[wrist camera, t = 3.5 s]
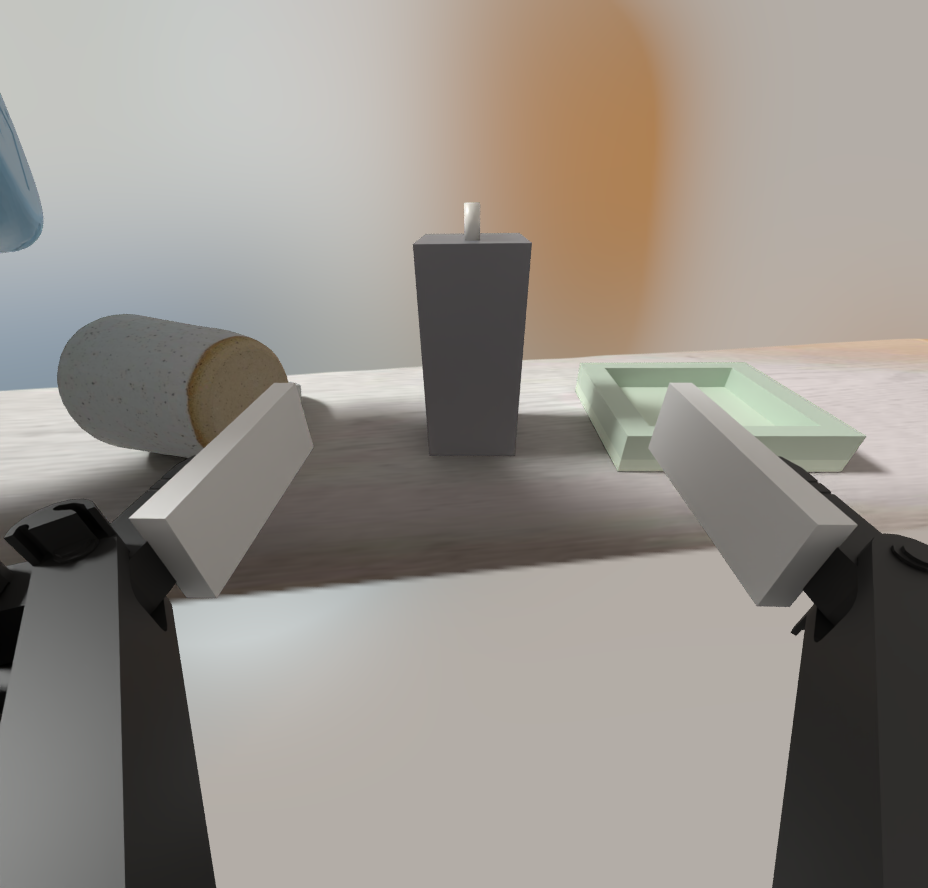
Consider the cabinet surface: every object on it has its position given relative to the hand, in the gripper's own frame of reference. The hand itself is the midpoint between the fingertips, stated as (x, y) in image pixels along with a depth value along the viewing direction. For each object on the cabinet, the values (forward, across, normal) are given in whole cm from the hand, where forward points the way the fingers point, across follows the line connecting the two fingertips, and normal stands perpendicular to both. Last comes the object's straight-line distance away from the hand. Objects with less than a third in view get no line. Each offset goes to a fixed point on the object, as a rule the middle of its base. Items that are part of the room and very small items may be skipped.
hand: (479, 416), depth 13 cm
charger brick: (+8, 0, -6) cm, 10 cm away
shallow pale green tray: (+9, +14, -6) cm, 18 cm away
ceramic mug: (+8, -16, -6) cm, 19 cm away
